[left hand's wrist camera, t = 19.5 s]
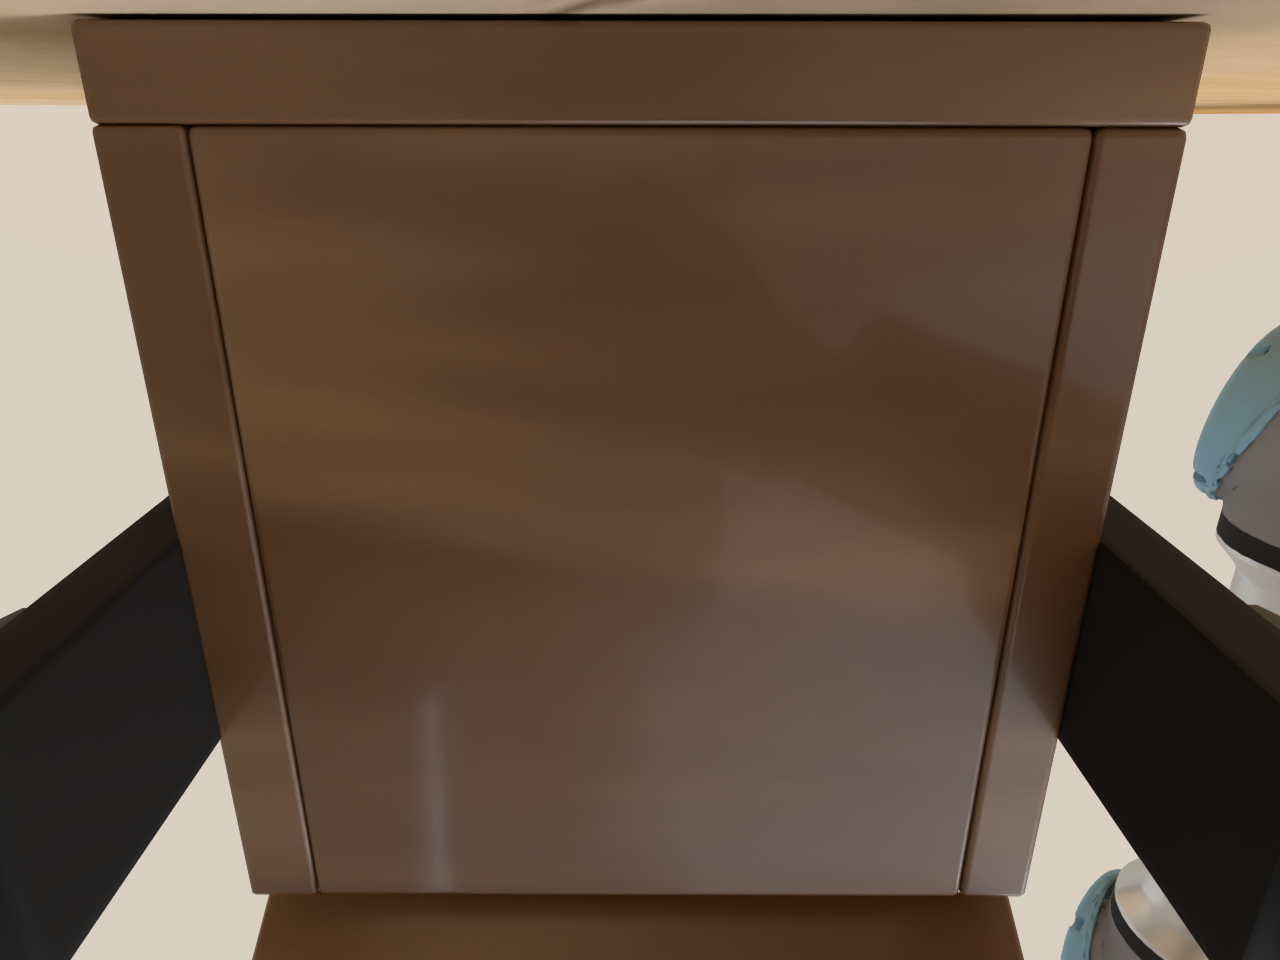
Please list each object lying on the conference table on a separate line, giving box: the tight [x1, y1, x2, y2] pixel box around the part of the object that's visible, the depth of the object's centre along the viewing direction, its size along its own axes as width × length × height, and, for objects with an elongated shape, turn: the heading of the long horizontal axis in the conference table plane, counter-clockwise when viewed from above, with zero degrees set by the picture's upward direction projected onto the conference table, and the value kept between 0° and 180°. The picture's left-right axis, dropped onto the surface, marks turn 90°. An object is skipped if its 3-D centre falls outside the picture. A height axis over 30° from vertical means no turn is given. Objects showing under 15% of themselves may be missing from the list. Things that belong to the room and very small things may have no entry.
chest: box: [71, 19, 1211, 896], centre depth 16 cm, size 14×10×10 cm
